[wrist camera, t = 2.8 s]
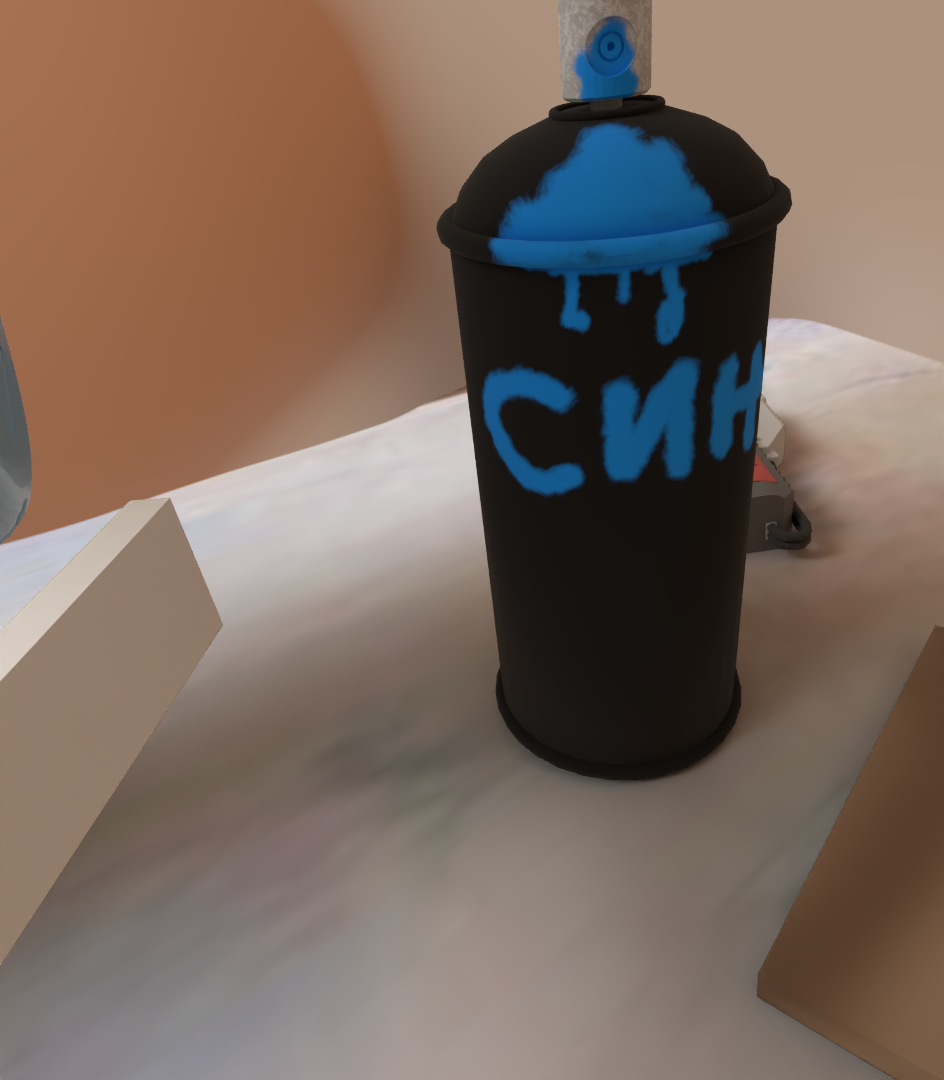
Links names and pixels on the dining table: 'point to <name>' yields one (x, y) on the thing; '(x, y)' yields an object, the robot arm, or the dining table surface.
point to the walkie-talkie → (773, 493)
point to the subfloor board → (878, 900)
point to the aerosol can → (615, 403)
